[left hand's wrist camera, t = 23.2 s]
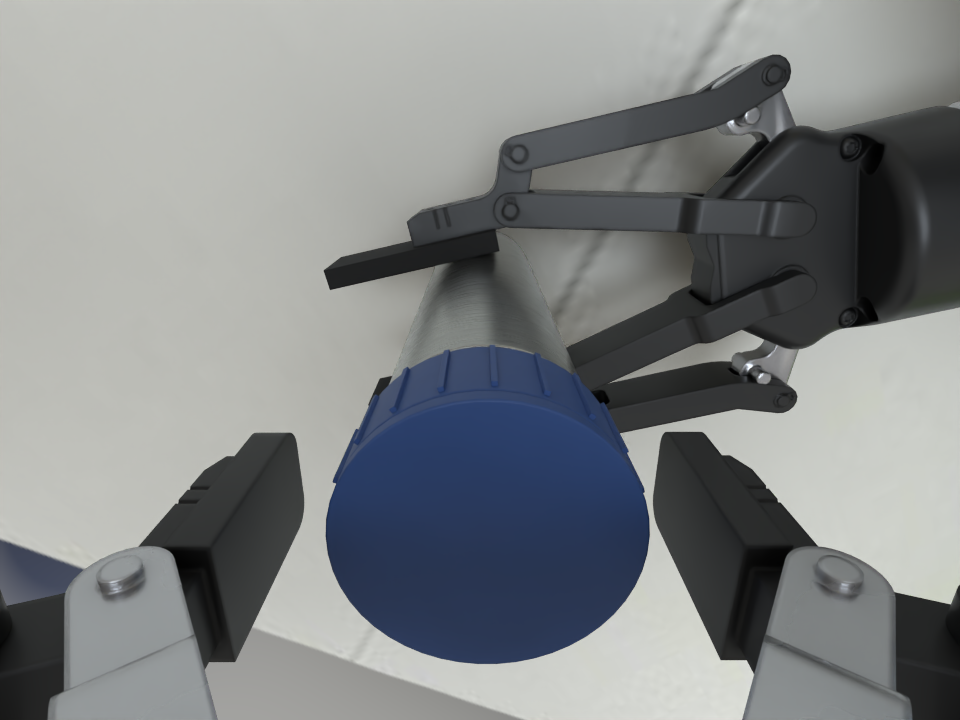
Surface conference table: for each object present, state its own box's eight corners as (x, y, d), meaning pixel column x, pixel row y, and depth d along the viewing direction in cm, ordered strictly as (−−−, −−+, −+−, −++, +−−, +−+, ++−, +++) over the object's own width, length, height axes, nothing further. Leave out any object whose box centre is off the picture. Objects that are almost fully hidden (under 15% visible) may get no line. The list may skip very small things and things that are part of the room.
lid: (579, 590, 12) (602, 686, 10) (340, 552, 12) (308, 643, 10) (653, 371, 10) (700, 431, 8) (371, 318, 10) (339, 365, 8)
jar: (544, 247, 27) (670, 436, 9) (511, 335, 29) (563, 642, 11) (451, 215, 27) (390, 349, 9) (423, 307, 28) (322, 580, 10)
